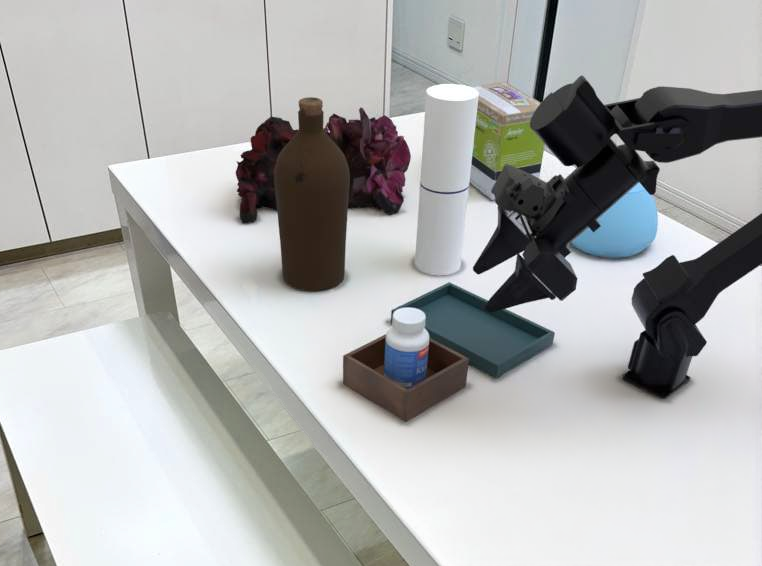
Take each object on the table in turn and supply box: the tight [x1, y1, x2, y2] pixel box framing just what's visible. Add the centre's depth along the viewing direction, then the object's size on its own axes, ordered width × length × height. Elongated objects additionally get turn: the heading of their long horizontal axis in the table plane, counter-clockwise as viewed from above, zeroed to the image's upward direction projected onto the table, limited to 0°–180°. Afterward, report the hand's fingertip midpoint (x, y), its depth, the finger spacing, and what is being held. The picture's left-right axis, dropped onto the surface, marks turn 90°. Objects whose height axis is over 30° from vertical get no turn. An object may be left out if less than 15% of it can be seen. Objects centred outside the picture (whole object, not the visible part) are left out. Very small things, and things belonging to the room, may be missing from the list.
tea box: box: [469, 81, 546, 201], centre depth 154 cm, size 15×10×15 cm, turn 25°
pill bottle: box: [384, 307, 429, 390], centre depth 107 cm, size 6×5×10 cm
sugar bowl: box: [570, 183, 659, 259], centre depth 138 cm, size 15×15×12 cm
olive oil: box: [274, 96, 350, 292], centre depth 122 cm, size 11×11×25 cm
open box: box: [342, 333, 470, 423], centre depth 109 cm, size 11×11×4 cm
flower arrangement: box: [235, 107, 412, 224], centre depth 146 cm, size 31×20×15 cm, turn 107°
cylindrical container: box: [414, 83, 479, 276], centre depth 126 cm, size 7×7×25 cm
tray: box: [390, 281, 556, 379], centre depth 119 cm, size 19×12×2 cm, turn 44°
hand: (480, 290), depth 102 cm, fingers open, 9 cm apart
